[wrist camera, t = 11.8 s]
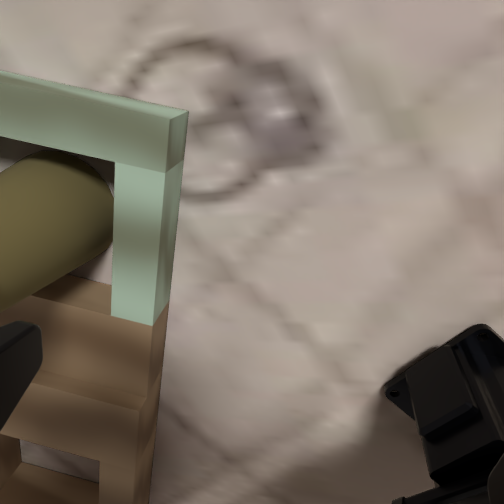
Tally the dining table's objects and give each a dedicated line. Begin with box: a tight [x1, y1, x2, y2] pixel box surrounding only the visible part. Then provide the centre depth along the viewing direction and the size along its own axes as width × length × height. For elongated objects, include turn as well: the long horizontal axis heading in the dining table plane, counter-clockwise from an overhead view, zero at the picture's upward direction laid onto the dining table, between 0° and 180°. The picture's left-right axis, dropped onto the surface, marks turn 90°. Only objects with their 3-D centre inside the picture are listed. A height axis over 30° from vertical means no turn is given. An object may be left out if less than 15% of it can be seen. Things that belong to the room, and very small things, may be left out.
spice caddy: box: [0, 71, 189, 504], centre depth 25 cm, size 30×12×4 cm, turn 170°
